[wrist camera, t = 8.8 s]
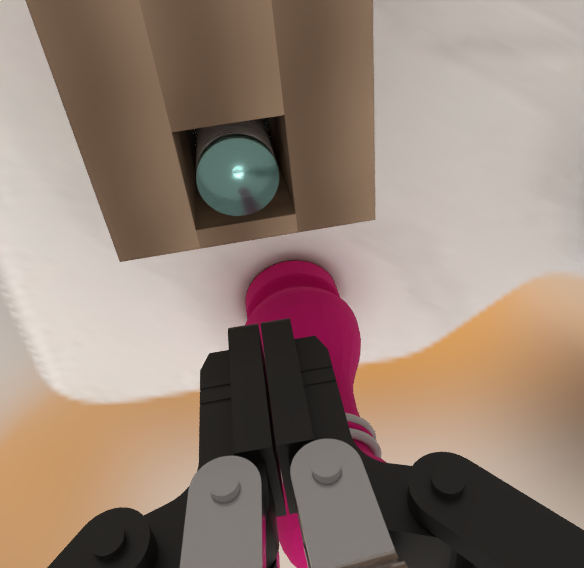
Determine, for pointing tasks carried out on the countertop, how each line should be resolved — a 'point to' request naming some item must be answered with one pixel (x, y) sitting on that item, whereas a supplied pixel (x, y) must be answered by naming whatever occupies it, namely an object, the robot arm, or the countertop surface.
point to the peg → (236, 167)
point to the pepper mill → (331, 332)
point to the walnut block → (215, 110)
